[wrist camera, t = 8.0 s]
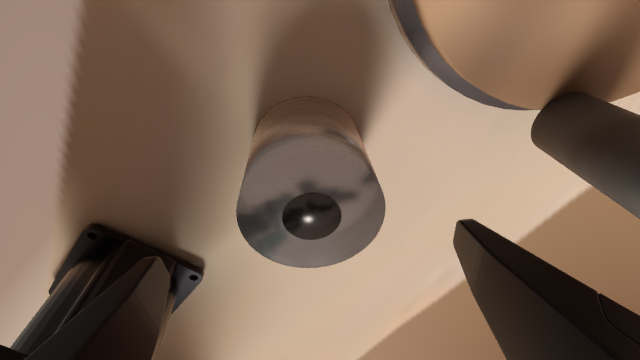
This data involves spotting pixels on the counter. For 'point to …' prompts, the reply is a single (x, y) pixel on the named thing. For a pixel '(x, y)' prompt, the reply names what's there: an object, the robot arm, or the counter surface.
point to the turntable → (555, 76)
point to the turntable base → (437, 55)
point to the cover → (309, 187)
